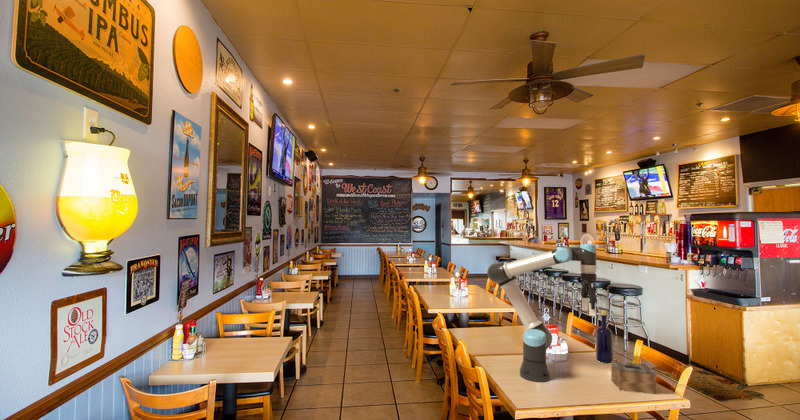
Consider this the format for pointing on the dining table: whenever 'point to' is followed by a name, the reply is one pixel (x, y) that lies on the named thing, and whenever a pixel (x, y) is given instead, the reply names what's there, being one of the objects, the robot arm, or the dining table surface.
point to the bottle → (604, 341)
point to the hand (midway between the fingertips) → (588, 312)
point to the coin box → (633, 377)
